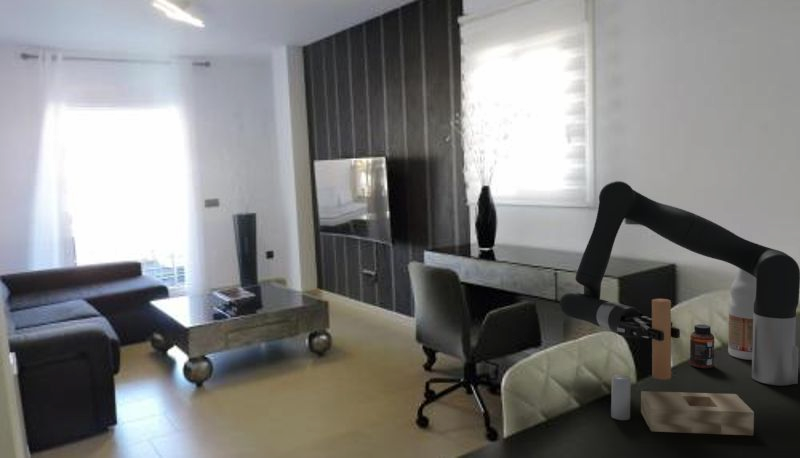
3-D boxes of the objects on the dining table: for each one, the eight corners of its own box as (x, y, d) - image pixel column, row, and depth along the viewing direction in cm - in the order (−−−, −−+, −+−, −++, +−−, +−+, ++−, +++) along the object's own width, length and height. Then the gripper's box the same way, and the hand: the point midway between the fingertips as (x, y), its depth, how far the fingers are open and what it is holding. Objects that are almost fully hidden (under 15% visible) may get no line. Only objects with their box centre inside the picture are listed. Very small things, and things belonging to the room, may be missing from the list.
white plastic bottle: (723, 356, 174) (725, 260, 171) (734, 348, 181) (736, 256, 178) (759, 362, 167) (762, 263, 164) (769, 354, 174) (772, 259, 171)
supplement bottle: (716, 369, 163) (717, 329, 162) (693, 369, 164) (693, 328, 163) (710, 362, 169) (710, 323, 168) (687, 361, 170) (687, 322, 169)
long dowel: (668, 373, 141) (668, 298, 140) (673, 379, 137) (672, 302, 136) (650, 373, 142) (649, 298, 140) (654, 379, 138) (654, 302, 136)
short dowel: (627, 413, 137) (628, 375, 137) (631, 420, 133) (632, 381, 133) (609, 412, 138) (609, 374, 137) (613, 419, 134) (613, 380, 133)
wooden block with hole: (735, 415, 134) (736, 394, 134) (753, 435, 124) (754, 412, 124) (640, 412, 138) (641, 391, 137) (651, 431, 128) (651, 408, 127)
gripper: (595, 307, 149) (645, 323, 133) (641, 300, 154) (695, 315, 138) (596, 337, 150) (645, 356, 134) (641, 329, 155) (695, 346, 139)
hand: (670, 335), depth 136 cm, fingers closed on long dowel, 4 cm apart
